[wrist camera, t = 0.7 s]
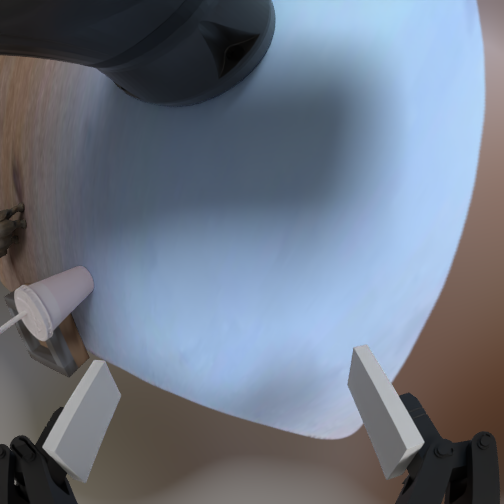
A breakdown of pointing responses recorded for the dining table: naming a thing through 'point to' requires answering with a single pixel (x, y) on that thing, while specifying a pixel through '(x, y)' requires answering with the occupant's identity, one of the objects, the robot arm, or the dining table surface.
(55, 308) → the smoothie
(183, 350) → the dining table surface
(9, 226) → the rhino figurine
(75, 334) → the grey boxy open piece
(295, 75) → the dining table surface
